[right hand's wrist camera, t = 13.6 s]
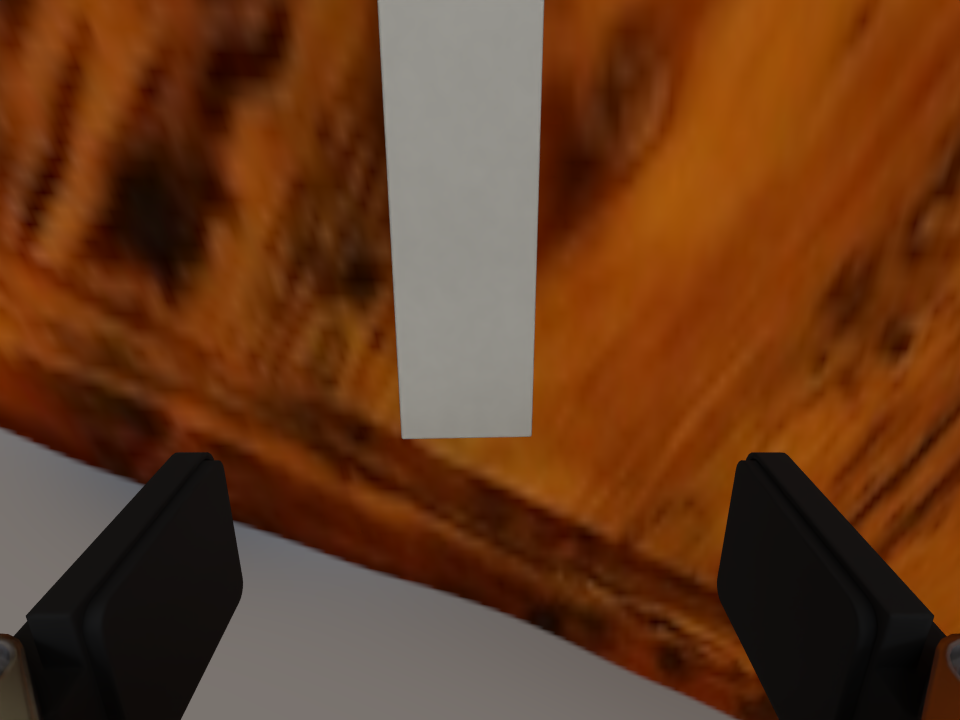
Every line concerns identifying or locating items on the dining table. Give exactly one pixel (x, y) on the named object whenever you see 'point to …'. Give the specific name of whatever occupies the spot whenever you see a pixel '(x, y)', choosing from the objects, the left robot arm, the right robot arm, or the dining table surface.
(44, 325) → the dining table surface
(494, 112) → the bar
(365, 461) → the dining table surface
